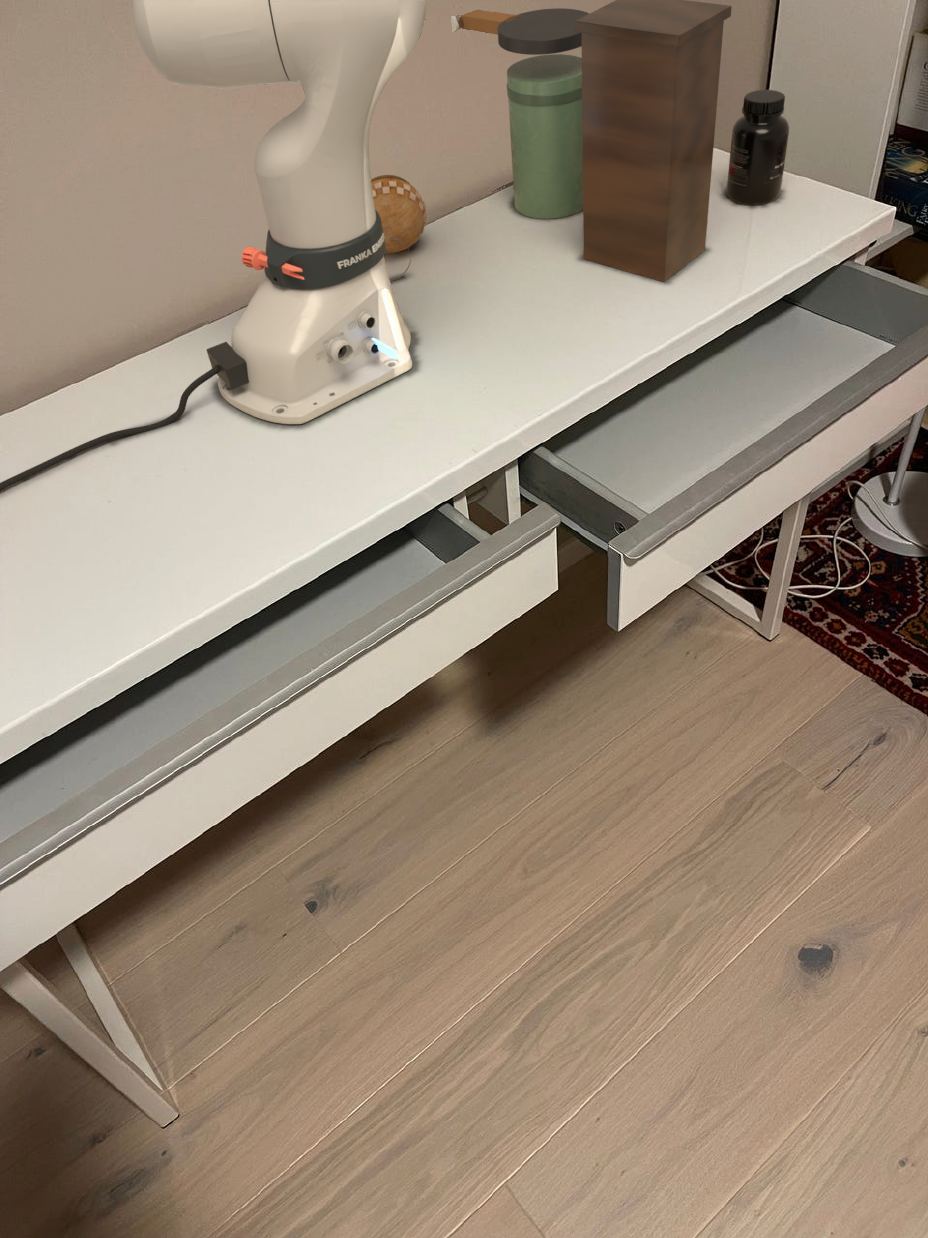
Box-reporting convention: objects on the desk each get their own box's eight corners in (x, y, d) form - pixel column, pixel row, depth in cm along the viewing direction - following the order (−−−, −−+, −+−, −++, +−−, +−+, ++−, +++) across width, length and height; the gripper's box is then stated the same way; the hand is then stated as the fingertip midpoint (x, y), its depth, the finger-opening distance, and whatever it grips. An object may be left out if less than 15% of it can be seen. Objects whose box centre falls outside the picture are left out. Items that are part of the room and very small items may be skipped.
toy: (445, 282, 122) (432, 204, 130) (417, 222, 115) (405, 143, 122) (375, 308, 124) (367, 230, 132) (343, 251, 117) (336, 172, 124)
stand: (665, 285, 115) (679, 35, 97) (577, 259, 122) (574, 20, 103) (711, 249, 120) (732, 5, 102) (623, 226, 126) (628, -8, 108)
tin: (559, 225, 128) (556, 88, 117) (498, 208, 133) (488, 75, 122) (605, 194, 133) (606, 60, 122) (544, 180, 138) (539, 49, 127)
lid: (556, 60, 114) (556, 45, 112) (423, 37, 124) (421, 23, 123) (614, 28, 119) (614, 14, 118) (482, 8, 129) (481, -5, 128)
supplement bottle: (785, 203, 127) (799, 103, 118) (730, 208, 127) (740, 108, 118) (774, 181, 131) (787, 83, 123) (722, 185, 132) (731, 88, 123)
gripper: (340, 62, 129) (400, 13, 118) (443, 15, 139) (507, -35, 128) (365, 111, 131) (426, 67, 121) (464, 61, 141) (529, 16, 130)
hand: (469, 14), depth 124 cm, fingers closed on lid, 3 cm apart
